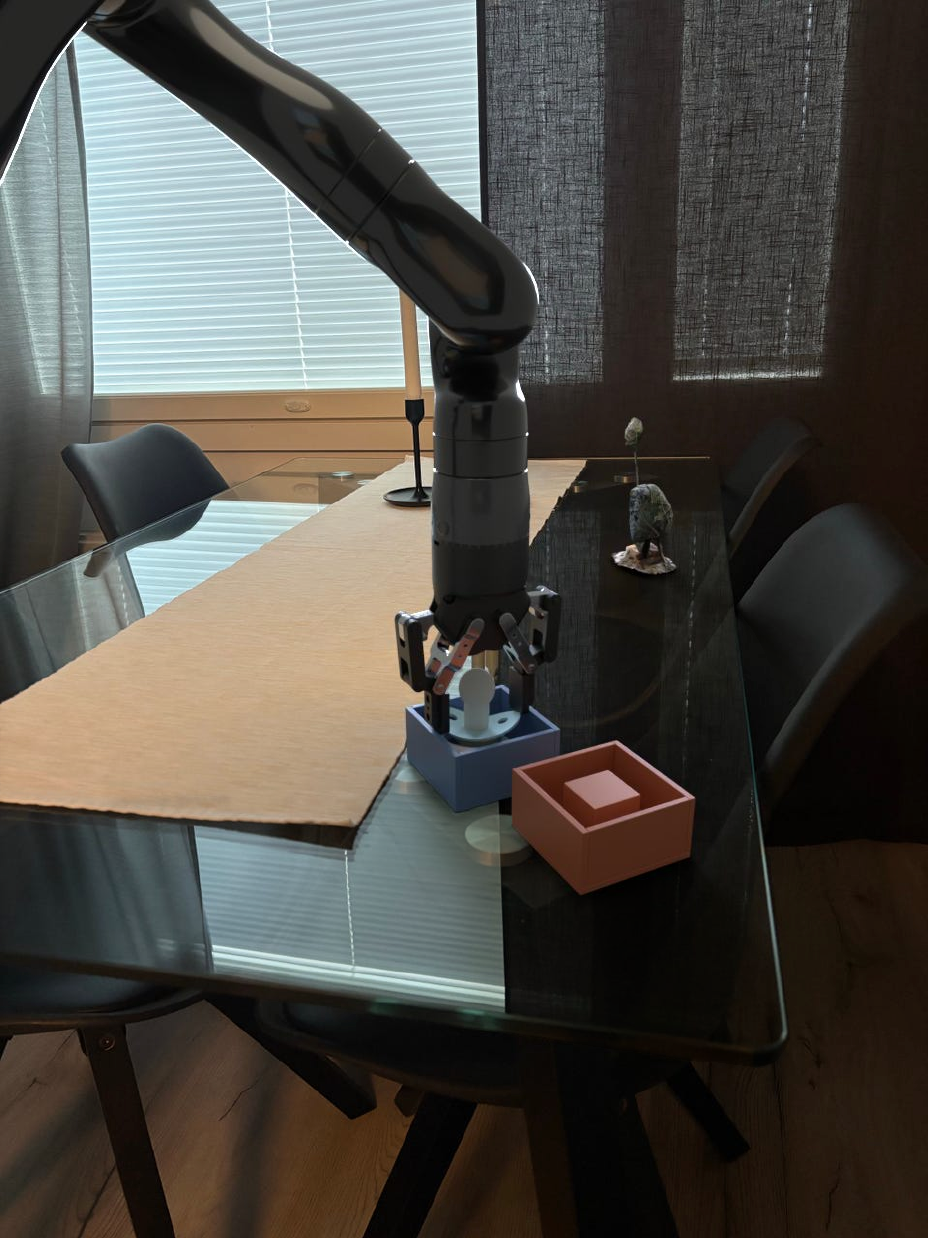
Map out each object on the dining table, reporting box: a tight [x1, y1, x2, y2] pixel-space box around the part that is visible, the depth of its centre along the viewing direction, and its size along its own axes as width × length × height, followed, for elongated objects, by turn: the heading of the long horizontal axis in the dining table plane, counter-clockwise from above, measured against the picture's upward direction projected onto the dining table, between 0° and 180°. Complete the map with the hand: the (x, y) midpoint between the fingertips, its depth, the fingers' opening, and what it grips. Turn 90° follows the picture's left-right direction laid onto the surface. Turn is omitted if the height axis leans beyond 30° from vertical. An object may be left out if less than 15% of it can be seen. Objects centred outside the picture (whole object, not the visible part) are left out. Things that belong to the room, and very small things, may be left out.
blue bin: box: [404, 684, 561, 813], centre depth 80 cm, size 10×10×5 cm
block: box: [563, 770, 640, 829], centre depth 70 cm, size 4×4×4 cm
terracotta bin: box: [511, 739, 696, 896], centre depth 70 cm, size 10×10×5 cm
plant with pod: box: [610, 417, 677, 575], centre depth 127 cm, size 8×11×20 cm
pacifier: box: [439, 667, 520, 753], centre depth 78 cm, size 7×6×6 cm
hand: (480, 720), depth 79 cm, fingers closed on pacifier, 6 cm apart
